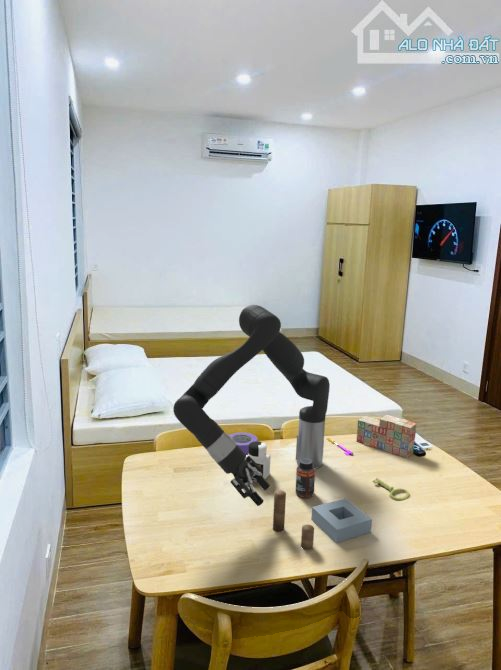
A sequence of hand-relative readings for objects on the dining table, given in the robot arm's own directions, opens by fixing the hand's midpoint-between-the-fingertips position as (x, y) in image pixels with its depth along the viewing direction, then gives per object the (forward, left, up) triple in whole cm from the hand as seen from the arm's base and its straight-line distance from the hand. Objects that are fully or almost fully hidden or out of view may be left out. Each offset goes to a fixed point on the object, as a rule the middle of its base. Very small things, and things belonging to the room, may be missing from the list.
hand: (264, 495), depth 138 cm
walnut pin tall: (+3, +3, -9) cm, 10 cm away
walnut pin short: (+13, +6, -9) cm, 17 cm away
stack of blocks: (-27, +68, -10) cm, 74 cm away
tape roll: (-46, +15, -10) cm, 50 cm away
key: (0, +47, -10) cm, 48 cm away
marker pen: (-34, +51, -10) cm, 62 cm away
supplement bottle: (-10, +20, -10) cm, 25 cm away
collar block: (+9, +20, -9) cm, 24 cm away
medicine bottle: (-26, +11, -10) cm, 30 cm away
